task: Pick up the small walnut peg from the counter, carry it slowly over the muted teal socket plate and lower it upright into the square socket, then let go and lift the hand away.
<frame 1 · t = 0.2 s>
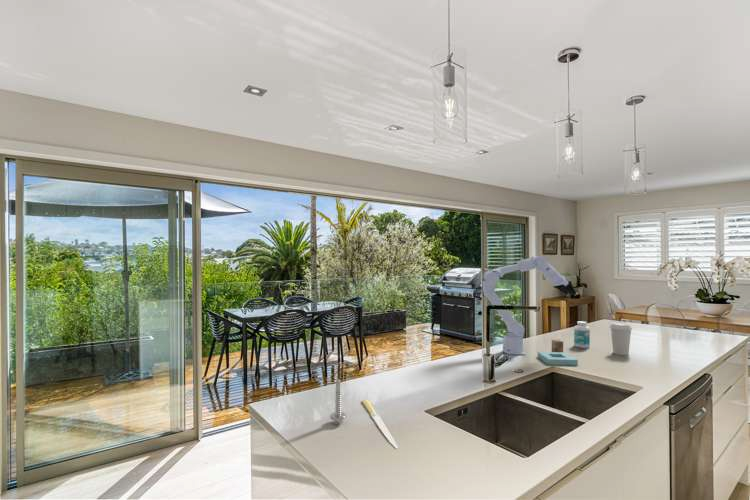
hand: (571, 293, 191), 30 cm above the worktop, tool tilted 45°, fingers open, 7 cm apart
knife: (381, 423, 115), on the worktop
socket plate: (556, 360, 178), on the worktop
screw: (338, 423, 113), on the worktop
pill bottle: (581, 347, 205), on the worktop
coffee cup: (620, 353, 192), on the worktop
walnut peg: (557, 354, 190), on the worktop
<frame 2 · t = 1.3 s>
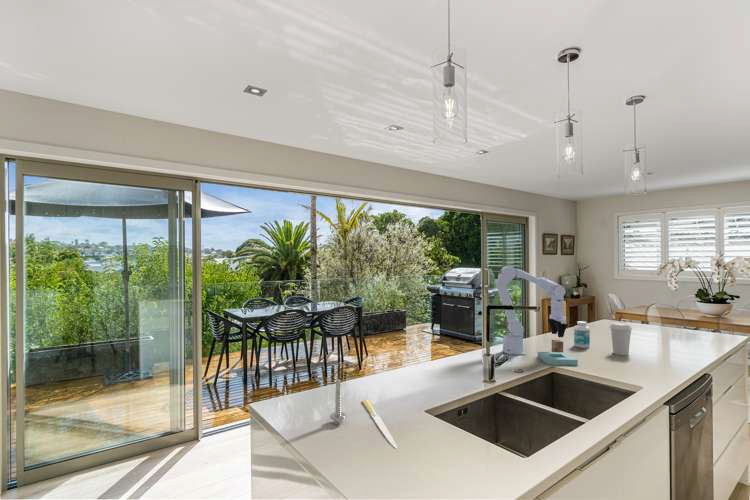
hand: (557, 335, 190), 10 cm above the worktop, tool pointing down, fingers open, 7 cm apart
nothing on the worktop moved.
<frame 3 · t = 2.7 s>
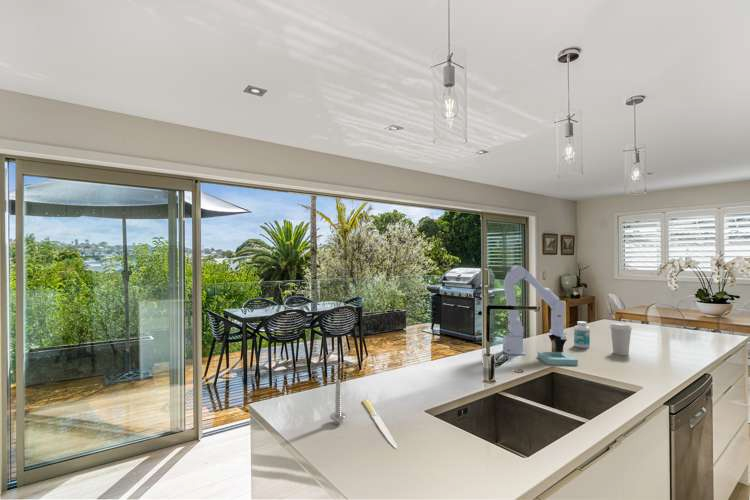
hand: (557, 350, 190), 2 cm above the worktop, tool pointing down, fingers closed on walnut peg, 4 cm apart
walnut peg: (557, 354, 190), on the worktop, touching gripper
everything else where it was.
when the fingers open (3 cm above the worktop, at t = 8.7 s): walnut peg drops 1 cm, resting in socket plate.
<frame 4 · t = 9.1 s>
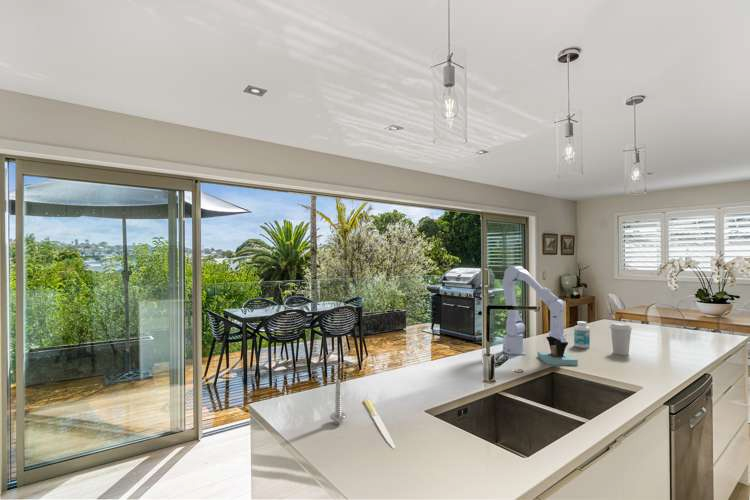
hand: (556, 354, 178), 3 cm above the worktop, tool pointing down, fingers open, 7 cm apart
walnut peg: (557, 361, 178), resting in socket plate
everything else where it was.
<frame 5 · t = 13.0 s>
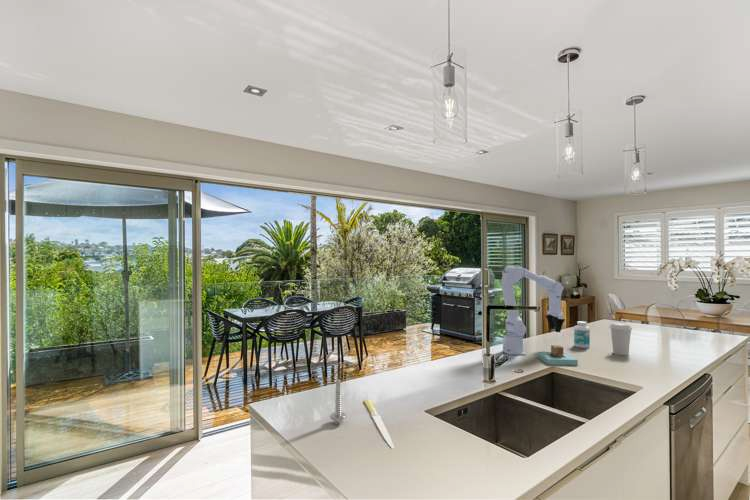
hand: (554, 330, 198), 10 cm above the worktop, tool pointing down, fingers open, 7 cm apart
nothing on the worktop moved.
at the end: walnut peg 0.1 cm off-centre on the socket plate, point 0.0 cm above the socket plate's base; walnut peg tilted 0°; the gripper is holding nothing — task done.
